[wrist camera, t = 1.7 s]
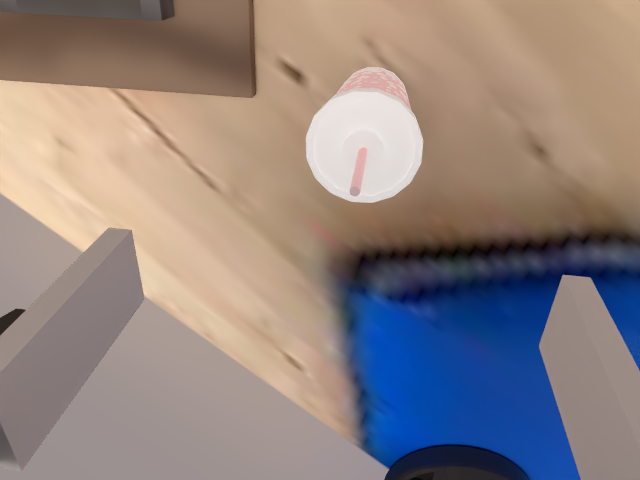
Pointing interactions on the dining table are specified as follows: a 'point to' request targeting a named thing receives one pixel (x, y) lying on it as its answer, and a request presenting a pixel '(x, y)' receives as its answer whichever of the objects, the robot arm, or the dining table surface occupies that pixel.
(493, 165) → the dining table surface
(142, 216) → the dining table surface
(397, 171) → the beverage cup
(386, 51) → the dining table surface
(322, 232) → the dining table surface
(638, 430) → the robot arm
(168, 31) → the cup holder
